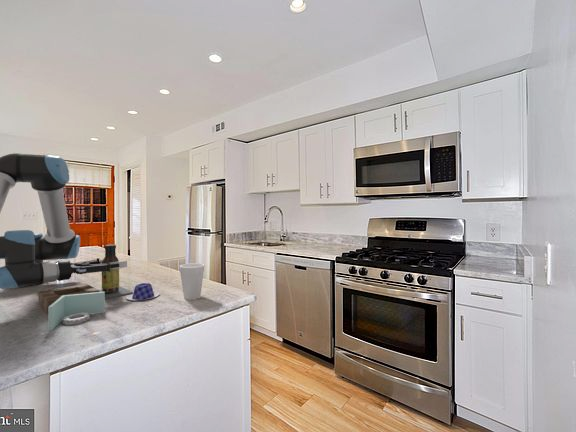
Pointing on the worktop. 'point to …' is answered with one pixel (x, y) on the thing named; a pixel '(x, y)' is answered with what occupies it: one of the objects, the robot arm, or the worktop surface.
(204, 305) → the worktop surface
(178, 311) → the worktop surface
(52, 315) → the mint folded panel
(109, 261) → the sauce bottle
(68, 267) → the robot arm
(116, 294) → the grey mat
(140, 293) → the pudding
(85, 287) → the walnut collar
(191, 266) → the foam cup
